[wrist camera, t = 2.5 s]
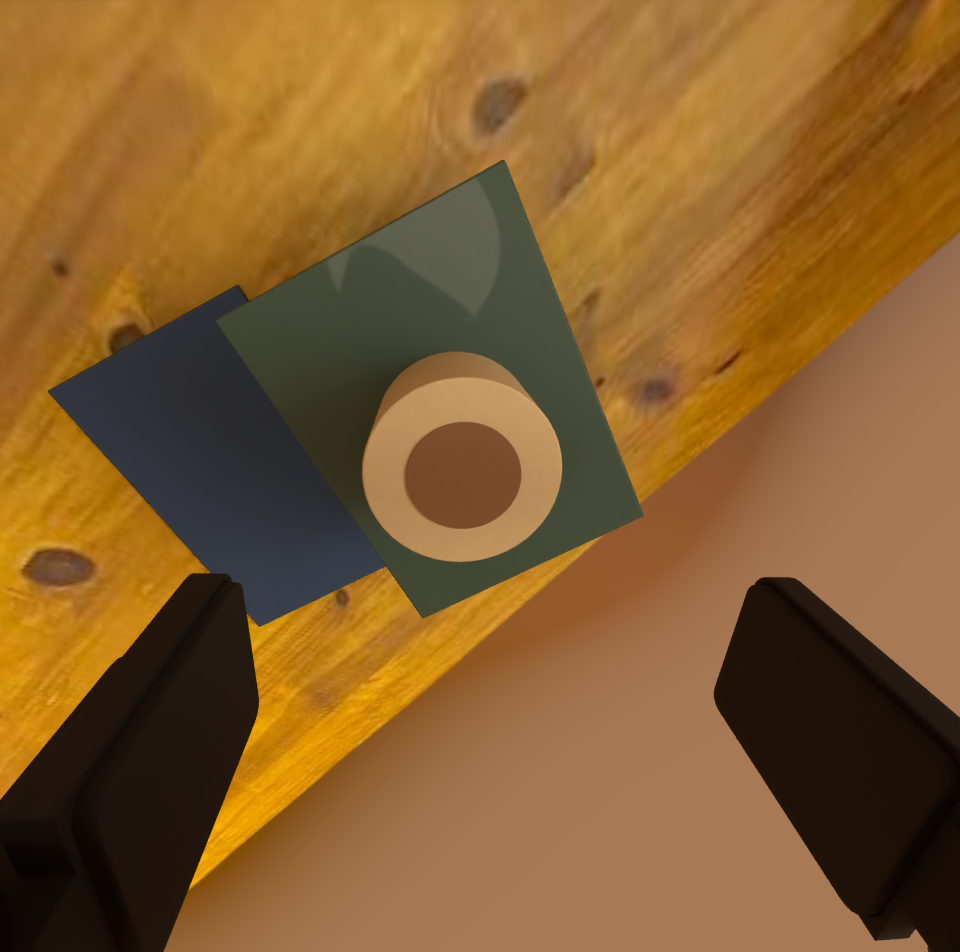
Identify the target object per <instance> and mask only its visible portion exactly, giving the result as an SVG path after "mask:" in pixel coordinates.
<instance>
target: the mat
mask: <svg viewBox="0 0 960 952" xmlns="http://www.w3.org/2000/svg"><path fill="white" fill-rule="evenodd" d="M246 302H248V299H247V298H246V296H245V295H244V293H243V292H242V290H241V289H240V287H239V286H238V285H236V286H234V287H232V288H231V289H229V290H227V291H225V292H223V293H222V294H220V295H218V296H216V297H215V298H213V299H211V300H209V301H207V302H206V303H204V304H202V305H200V306H199V307H197V308H195V309H193V310H191V311H190V312H188V313H186V314H184V315H182V316H181V317H179V318H177V319H175V320H174V321H172V322H170V323H168V324H166V325H165V326H163V327H161V328H159V329H158V330H156V331H154V332H152V333H150V334H149V335H147V336H145V337H143V338H141V339H140V340H138V341H136V342H134V343H133V344H131V345H129V346H127V347H125V348H124V349H122V350H120V351H118V352H116V353H115V354H113V355H111V356H109V357H108V358H106V359H104V360H102V361H100V362H99V363H97V364H95V365H93V366H92V367H90V368H88V369H86V370H84V371H83V372H81V373H79V374H77V375H75V376H74V377H72V378H70V379H68V380H67V381H65V382H63V383H61V384H59V385H58V386H56V387H54V388H52V389H50V390H49V391H48V393H49V394H50V395H51V396H52V397H53V398H54V399H55V400H56V401H57V403H58V404H59V405H60V406H61V407H62V408H63V409H64V410H65V411H66V413H67V414H68V415H69V416H70V417H71V418H72V419H73V420H74V421H75V423H76V424H77V425H78V426H79V427H80V428H81V429H82V430H83V431H84V433H85V434H86V435H87V436H88V437H89V438H90V439H91V440H92V441H93V443H94V444H95V445H96V446H97V447H98V448H99V449H100V450H101V451H102V453H103V454H104V455H105V456H106V457H107V458H108V459H109V460H110V461H111V463H112V464H113V465H114V466H115V467H116V468H117V469H118V470H119V471H120V473H121V474H122V475H123V476H124V477H125V478H126V479H127V480H128V481H129V483H130V484H131V485H132V486H133V487H134V488H135V489H136V490H137V491H138V493H139V494H140V495H141V496H142V497H143V498H144V499H145V500H146V501H147V503H148V504H149V505H150V506H151V507H152V508H153V509H154V510H155V511H156V513H157V514H158V515H159V516H160V517H161V518H162V519H163V520H164V521H165V523H166V524H167V525H168V526H169V527H170V528H171V529H172V530H173V531H174V533H175V534H176V535H177V536H178V537H179V538H180V539H181V540H182V541H183V543H184V544H185V545H186V546H187V547H188V548H189V549H190V550H191V551H192V553H193V554H194V555H195V556H196V557H197V558H198V559H199V560H200V562H201V563H202V564H203V565H204V566H205V567H206V568H207V569H208V570H209V572H210V573H211V574H228V575H230V577H231V578H232V582H239V583H241V585H242V587H243V592H244V599H245V606H246V613H247V614H248V615H249V616H250V617H251V618H252V619H253V620H254V622H255V623H256V624H257V625H258V626H259V627H260V626H262V625H264V624H267V623H269V622H271V621H273V620H275V619H277V618H279V617H281V616H283V615H285V614H287V613H289V612H292V611H294V610H296V609H298V608H300V607H302V606H304V605H306V604H308V603H310V602H312V601H314V600H317V599H319V598H321V597H323V596H325V595H327V594H329V593H331V592H333V591H335V590H337V589H339V588H341V587H344V586H346V585H348V584H350V583H352V582H354V581H356V580H358V579H360V578H362V577H364V576H366V575H369V574H371V573H373V572H375V571H377V570H379V569H381V568H383V567H385V566H386V565H385V564H384V562H383V561H382V560H381V558H380V557H379V555H378V554H377V552H376V551H375V549H374V548H373V547H372V545H371V544H370V542H369V541H368V539H367V538H366V537H365V535H364V534H363V532H362V531H361V529H360V528H359V527H358V525H357V524H356V522H355V521H354V519H353V518H352V517H351V515H350V514H349V512H348V511H347V509H346V508H345V507H344V505H343V504H342V502H341V501H340V499H339V498H338V497H337V495H336V494H335V492H334V491H333V489H332V488H331V487H330V485H329V484H328V482H327V481H326V479H325V478H324V476H323V475H322V474H321V472H320V471H319V469H318V468H317V466H316V465H315V464H314V462H313V461H312V459H311V458H310V456H309V455H308V454H307V452H306V451H305V449H304V448H303V446H302V445H301V444H300V442H299V441H298V439H297V438H296V436H295V435H294V434H293V432H292V431H291V429H290V428H289V426H288V425H287V424H286V422H285V421H284V419H283V418H282V416H281V415H280V414H279V412H278V411H277V409H276V408H275V406H274V405H273V403H272V402H271V401H270V399H269V398H268V396H267V395H266V393H265V392H264V391H263V389H262V388H261V386H260V385H259V383H258V382H257V381H256V379H255V378H254V376H253V375H252V373H251V372H250V371H249V369H248V368H247V366H246V365H245V363H244V362H243V361H242V359H241V358H240V356H239V355H238V353H237V352H236V351H235V349H234V348H233V346H232V345H231V343H230V342H229V341H228V339H227V338H226V336H225V335H224V333H223V332H222V330H221V329H220V328H219V326H218V325H217V323H216V321H215V320H216V319H217V318H219V317H221V316H223V315H224V314H226V313H228V312H230V311H232V310H233V309H235V308H237V307H239V306H241V305H242V304H244V303H246Z"/></svg>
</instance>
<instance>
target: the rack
mask: <svg viewBox="0 0 960 952" xmlns="http://www.w3.org/2000/svg"><path fill="white" fill-rule="evenodd" d="M215 321H216V323H217V325H218V326H219V328H220V329H221V330H222V332H223V333H224V335H225V336H226V338H227V339H228V341H229V342H230V343H231V345H232V346H233V348H234V349H235V351H236V352H237V353H238V355H239V356H240V358H241V359H242V361H243V362H244V363H245V365H246V366H247V368H248V369H249V371H250V372H251V373H252V375H253V376H254V378H255V379H256V381H257V382H258V383H259V385H260V386H261V388H262V389H263V391H264V392H265V393H266V395H267V396H268V398H269V399H270V401H271V402H272V403H273V405H274V406H275V408H276V409H277V411H278V412H279V414H280V415H281V416H282V418H283V419H284V421H285V422H286V424H287V425H288V426H289V428H290V429H291V431H292V432H293V434H294V435H295V436H296V438H297V439H298V441H299V442H300V444H301V445H302V446H303V448H304V449H305V451H306V452H307V454H308V455H309V456H310V458H311V459H312V461H313V462H314V464H315V465H316V466H317V468H318V469H319V471H320V472H321V474H322V475H323V476H324V478H325V479H326V481H327V482H328V484H329V485H330V487H331V488H332V489H333V491H334V492H335V494H336V495H337V497H338V498H339V499H340V501H341V502H342V504H343V505H344V507H345V508H346V509H347V511H348V512H349V514H350V515H351V517H352V518H353V519H354V521H355V522H356V524H357V525H358V527H359V528H360V529H361V531H362V532H363V534H364V535H365V537H366V538H367V539H368V541H369V542H370V544H371V545H372V547H373V548H374V549H375V551H376V552H377V554H378V555H379V557H380V558H381V560H382V561H383V562H384V564H385V565H386V567H387V568H388V570H389V571H390V572H391V574H392V575H393V577H394V578H395V580H396V581H397V582H398V584H399V585H400V587H401V588H402V590H403V591H404V592H405V594H406V595H407V597H408V598H409V600H410V601H411V602H412V604H413V605H414V607H415V608H416V610H417V611H418V612H419V614H420V615H421V617H422V618H425V617H427V616H430V615H432V614H434V613H436V612H438V611H440V610H443V609H445V608H447V607H449V606H451V605H453V604H455V603H458V602H460V601H462V600H464V599H466V598H468V597H470V596H473V595H475V594H477V593H479V592H481V591H483V590H486V589H488V588H490V587H492V586H494V585H496V584H498V583H501V582H503V581H505V580H507V579H509V578H511V577H513V576H516V575H518V574H520V573H522V572H524V571H526V570H529V569H531V568H533V567H535V566H537V565H539V564H541V563H544V562H546V561H548V560H550V559H552V558H554V557H556V556H559V555H561V554H563V553H565V552H567V551H569V550H572V549H574V548H576V547H578V546H580V545H582V544H584V543H587V542H589V541H591V540H593V539H595V538H597V537H600V536H602V535H604V534H606V533H608V532H610V531H612V530H615V529H617V528H619V527H621V526H623V525H625V524H627V523H630V522H632V521H634V520H636V519H638V518H640V517H643V512H642V509H641V507H640V504H639V502H638V499H637V496H636V494H635V491H634V489H633V486H632V484H631V481H630V479H629V476H628V473H627V471H626V468H625V466H624V463H623V461H622V458H621V456H620V453H619V450H618V448H617V445H616V443H615V440H614V438H613V435H612V433H611V430H610V427H609V425H608V422H607V420H606V417H605V415H604V412H603V410H602V407H601V404H600V402H599V399H598V397H597V394H596V392H595V389H594V387H593V384H592V381H591V379H590V376H589V374H588V371H587V369H586V366H585V364H584V361H583V358H582V356H581V353H580V351H579V348H578V346H577V343H576V341H575V338H574V335H573V333H572V330H571V328H570V325H569V323H568V320H567V318H566V315H565V312H564V310H563V307H562V305H561V302H560V300H559V297H558V295H557V292H556V289H555V287H554V284H553V282H552V279H551V277H550V274H549V272H548V269H547V266H546V264H545V261H544V259H543V256H542V254H541V251H540V249H539V246H538V243H537V241H536V238H535V236H534V233H533V231H532V228H531V226H530V223H529V220H528V218H527V215H526V213H525V210H524V208H523V205H522V203H521V200H520V197H519V195H518V192H517V190H516V187H515V185H514V182H513V180H512V177H511V174H510V172H509V169H508V167H507V164H506V162H505V161H504V160H502V161H500V162H498V163H496V164H494V165H493V166H491V167H489V168H487V169H485V170H484V171H482V172H480V173H478V174H476V175H475V176H473V177H471V178H469V179H467V180H466V181H464V182H462V183H460V184H458V185H457V186H455V187H453V188H451V189H449V190H448V191H446V192H444V193H442V194H440V195H439V196H437V197H435V198H433V199H431V200H430V201H428V202H426V203H424V204H422V205H421V206H419V207H417V208H415V209H413V210H412V211H410V212H408V213H406V214H404V215H403V216H401V217H399V218H397V219H395V220H394V221H392V222H390V223H388V224H386V225H385V226H383V227H381V228H379V229H377V230H376V231H374V232H372V233H370V234H368V235H367V236H365V237H363V238H361V239H359V240H358V241H356V242H354V243H352V244H350V245H349V246H347V247H345V248H343V249H341V250H340V251H338V252H336V253H334V254H332V255H331V256H329V257H327V258H325V259H323V260H322V261H320V262H318V263H316V264H314V265H313V266H311V267H309V268H307V269H305V270H304V271H302V272H300V273H298V274H296V275H295V276H293V277H291V278H289V279H287V280H286V281H284V282H282V283H280V284H278V285H277V286H275V287H273V288H271V289H269V290H268V291H266V292H264V293H262V294H260V295H259V296H257V297H255V298H253V299H251V300H250V301H248V302H246V303H244V304H242V305H241V306H239V307H237V308H235V309H233V310H232V311H230V312H228V313H226V314H224V315H223V316H221V317H219V318H217V319H216V320H215ZM445 352H468V353H473V354H477V355H481V356H484V357H486V358H489V359H491V360H493V361H495V362H496V363H498V364H500V365H501V366H503V367H504V368H505V369H506V370H508V371H509V372H510V373H511V374H512V375H513V376H514V377H515V378H516V379H517V381H518V382H519V383H520V384H521V386H522V387H523V388H524V389H525V391H526V392H527V393H528V394H529V396H530V397H531V398H532V399H533V401H534V402H535V403H536V405H537V406H538V407H539V408H540V410H541V411H542V412H543V414H544V415H545V416H546V418H547V419H548V420H549V422H550V424H551V426H552V428H553V429H554V431H555V434H556V437H557V439H558V442H559V446H560V451H561V457H562V476H561V483H560V487H559V491H558V494H557V497H556V500H555V502H554V504H553V506H552V508H551V510H550V512H549V514H548V515H547V517H546V518H545V519H544V521H543V522H542V523H541V525H540V526H539V527H538V528H537V529H536V530H535V531H534V532H533V533H532V534H531V535H530V536H529V537H528V538H526V539H525V540H524V541H522V542H521V543H519V544H518V545H517V546H515V547H513V548H511V549H509V550H508V551H506V552H503V553H501V554H498V555H496V556H493V557H489V558H486V559H482V560H476V561H466V562H453V561H443V560H438V559H433V558H430V557H427V556H423V555H421V554H419V553H416V552H414V551H412V550H410V549H408V548H407V547H405V546H403V545H402V544H400V543H399V542H398V541H397V540H395V539H394V538H393V537H392V536H391V535H390V534H389V533H388V532H387V531H386V530H385V529H384V528H383V527H382V526H381V524H380V523H379V522H378V521H377V519H376V517H375V516H374V514H373V512H372V511H371V509H370V506H369V504H368V501H367V499H366V495H365V491H364V487H363V479H362V462H363V456H364V451H365V447H366V444H367V442H368V439H369V436H370V433H371V430H372V427H373V425H374V422H375V419H376V416H377V413H378V410H379V408H380V405H381V402H382V399H383V397H384V395H385V393H386V391H387V389H388V388H389V387H390V385H391V384H392V382H393V381H394V380H395V379H396V378H397V377H398V376H399V374H400V373H402V372H403V371H404V370H405V369H406V368H408V367H409V366H410V365H412V364H414V363H415V362H417V361H419V360H421V359H423V358H426V357H428V356H431V355H435V354H438V353H445Z"/></svg>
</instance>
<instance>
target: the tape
mask: <svg viewBox="0 0 960 952" xmlns="http://www.w3.org/2000/svg"><path fill="white" fill-rule="evenodd" d="M561 476H562V457H561V451H560V446H559V442H558V439H557V437H556V434H555V431H554V429H553V428H552V426H551V424H550V422H549V420H548V419H547V418H546V416H545V415H544V414H543V412H542V411H541V410H540V408H539V407H538V406H537V405H536V403H535V402H534V401H533V399H532V398H531V397H530V396H529V394H528V393H527V392H526V391H525V389H524V388H523V387H522V386H521V384H520V383H519V382H518V381H517V379H516V378H515V377H514V376H513V375H512V374H511V373H510V372H509V371H508V370H506V369H505V368H504V367H503V366H501V365H500V364H498V363H496V362H495V361H493V360H491V359H489V358H486V357H484V356H481V355H477V354H473V353H468V352H445V353H438V354H435V355H431V356H428V357H426V358H423V359H421V360H419V361H417V362H415V363H414V364H412V365H410V366H409V367H408V368H406V369H405V370H404V371H403V372H402V373H400V374H399V376H398V377H397V378H396V379H395V380H394V381H393V382H392V384H391V385H390V387H389V388H388V389H387V391H386V393H385V395H384V397H383V399H382V402H381V405H380V408H379V410H378V413H377V416H376V419H375V422H374V425H373V427H372V430H371V433H370V436H369V439H368V442H367V444H366V447H365V451H364V456H363V462H362V479H363V487H364V491H365V495H366V499H367V501H368V504H369V506H370V509H371V511H372V512H373V514H374V516H375V517H376V519H377V521H378V522H379V523H380V524H381V526H382V527H383V528H384V529H385V530H386V531H387V532H388V533H389V534H390V535H391V536H392V537H393V538H394V539H395V540H397V541H398V542H399V543H400V544H402V545H403V546H405V547H407V548H408V549H410V550H412V551H414V552H416V553H419V554H421V555H423V556H427V557H430V558H433V559H438V560H443V561H453V562H466V561H476V560H482V559H486V558H489V557H493V556H496V555H498V554H501V553H503V552H506V551H508V550H509V549H511V548H513V547H515V546H517V545H518V544H519V543H521V542H522V541H524V540H525V539H526V538H528V537H529V536H530V535H531V534H532V533H533V532H534V531H535V530H536V529H537V528H538V527H539V526H540V525H541V523H542V522H543V521H544V519H545V518H546V517H547V515H548V514H549V512H550V510H551V508H552V506H553V504H554V502H555V500H556V497H557V494H558V491H559V487H560V483H561Z"/></svg>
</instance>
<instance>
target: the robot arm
mask: <svg viewBox="0 0 960 952" xmlns="http://www.w3.org/2000/svg"><path fill="white" fill-rule="evenodd" d="M714 699H715V703H716V706H717V708H718V710H719V712H720V713H721V715H722V716H723V718H724V719H725V721H726V723H727V724H728V726H729V727H730V729H731V730H732V732H733V733H734V735H735V736H736V738H737V740H738V741H739V743H740V744H741V745H742V747H743V749H744V750H745V752H746V753H747V755H748V756H749V758H750V759H751V761H752V763H753V764H754V766H755V767H756V769H757V770H758V772H759V773H760V775H761V776H762V778H763V780H764V781H765V783H766V784H767V786H768V787H769V789H770V791H771V792H772V794H773V795H774V797H775V798H776V800H777V801H778V803H779V804H780V806H781V808H782V809H783V810H784V812H785V814H786V815H787V817H788V818H789V820H790V821H791V823H792V824H793V826H794V828H795V829H796V831H797V832H798V834H799V835H800V837H801V838H802V840H803V842H804V843H805V845H806V846H807V848H808V849H809V851H810V852H811V854H812V855H813V857H814V859H815V860H816V861H817V863H818V865H819V866H820V868H821V869H822V871H823V872H824V874H825V875H826V877H827V879H828V880H829V881H830V883H831V885H832V886H833V888H834V889H835V891H836V893H837V894H838V896H839V897H840V899H841V900H842V901H843V903H844V904H845V905H846V906H847V907H848V908H849V909H850V910H851V911H852V912H854V913H856V914H858V915H859V917H860V919H861V920H862V922H863V923H864V925H865V926H866V928H867V929H868V931H869V932H870V934H871V935H872V937H873V938H874V940H875V941H877V940H890V939H902V938H909V937H910V936H911V934H912V933H913V932H914V930H915V929H916V930H917V931H918V932H919V934H920V935H921V937H922V938H923V939H924V941H925V942H926V943H927V945H928V952H960V717H959V716H957V715H956V714H955V713H954V712H953V711H951V710H950V709H949V708H948V707H947V706H946V705H945V704H943V703H942V702H941V701H940V700H939V699H937V698H936V697H935V696H934V695H932V693H930V692H929V691H928V690H927V689H926V688H925V687H923V686H922V685H921V684H920V683H919V682H917V681H916V680H915V679H914V678H913V677H912V676H910V675H909V674H908V673H907V672H906V671H905V670H903V669H902V668H901V667H900V666H899V665H897V664H896V663H895V662H894V661H893V660H892V659H890V658H889V657H888V656H887V655H886V654H884V653H883V652H882V651H881V650H880V649H879V648H877V647H876V646H875V645H874V644H873V643H872V642H870V641H869V640H868V639H867V638H866V637H864V636H863V635H862V634H861V633H860V632H859V631H857V630H856V629H855V628H854V627H853V626H852V625H850V624H849V623H848V622H847V621H846V620H845V619H843V618H842V617H841V616H840V615H839V614H837V613H836V612H835V611H834V610H833V609H832V608H830V607H829V606H828V605H827V604H825V603H824V602H823V601H822V600H821V599H820V598H818V597H817V596H816V595H815V594H814V593H812V591H810V590H809V589H808V588H807V587H806V586H805V585H803V584H802V583H801V582H800V581H798V580H796V579H795V578H790V577H789V578H788V577H785V578H784V577H763V578H760V579H759V580H757V581H756V583H755V585H752V586H751V587H750V588H749V589H748V591H747V594H746V597H745V599H744V602H743V605H742V608H741V611H740V614H739V617H738V621H737V623H736V626H735V629H734V632H733V635H732V638H731V641H730V644H729V647H728V650H727V653H726V656H725V659H724V662H723V665H722V668H721V671H720V673H719V677H718V679H717V683H716V685H715V689H714ZM258 707H259V695H258V688H257V681H256V675H255V668H254V661H253V654H252V647H251V640H250V633H249V627H248V620H247V613H246V606H245V599H244V592H243V587H242V585H241V583H239V582H232V578H231V577H230V575H228V574H209V573H194V574H190V575H189V576H188V577H187V578H186V579H185V580H184V581H183V582H182V584H181V585H180V586H179V587H178V589H177V590H176V591H175V592H174V594H173V595H172V596H171V597H170V599H169V600H168V601H167V602H166V604H165V605H164V606H163V607H162V608H161V610H160V611H159V612H158V613H157V615H156V616H155V617H154V618H153V620H152V621H151V622H150V623H149V625H148V626H147V627H146V628H145V630H144V631H143V632H142V633H141V634H140V636H139V637H138V638H137V639H136V641H135V642H134V643H133V644H132V646H131V647H130V648H129V649H128V651H127V652H126V653H125V654H124V656H122V657H120V658H118V659H117V660H116V661H115V662H114V663H113V664H112V665H111V666H110V667H109V668H108V669H107V670H106V672H105V673H104V674H103V675H102V677H101V678H100V679H99V680H98V681H97V683H96V684H95V685H94V686H93V688H92V689H91V690H90V691H89V692H88V694H87V695H86V696H85V697H84V698H83V700H82V701H81V702H80V703H79V705H78V706H77V707H76V708H75V709H74V711H73V712H72V713H71V714H70V716H69V717H68V718H67V719H66V720H65V722H64V723H63V724H62V725H61V727H60V728H59V729H58V730H57V731H56V733H55V734H54V735H53V736H52V738H51V739H50V740H49V741H48V742H47V744H46V745H45V746H44V747H43V748H42V750H41V751H40V752H39V753H38V755H37V756H36V757H35V758H34V759H33V761H32V762H31V763H30V764H29V766H28V767H27V768H26V769H25V770H24V772H23V773H22V774H21V775H20V777H19V778H18V779H17V780H16V781H15V783H14V784H13V785H12V786H11V787H10V789H9V790H8V791H7V792H6V794H5V795H4V796H3V797H2V798H1V800H0V952H163V951H164V949H165V947H166V944H167V942H168V939H169V937H170V934H171V932H172V929H173V927H174V924H175V922H176V919H177V917H178V914H179V912H180V909H181V907H182V904H183V901H184V899H185V896H186V894H187V892H188V889H189V887H190V884H191V882H192V879H193V877H194V874H195V871H196V869H197V866H198V864H199V861H200V859H201V856H202V854H203V851H204V849H205V846H206V844H207V841H208V839H209V836H210V834H211V831H212V829H213V826H214V824H215V821H216V819H217V816H218V814H219V811H220V809H221V806H222V804H223V801H224V799H225V796H226V794H227V791H228V789H229V786H230V783H231V781H232V778H233V776H234V773H235V771H236V768H237V766H238V763H239V761H240V758H241V756H242V753H243V751H244V748H245V746H246V743H247V741H248V738H249V736H250V733H251V731H252V728H253V726H254V723H255V720H256V717H257V713H258Z"/></svg>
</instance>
